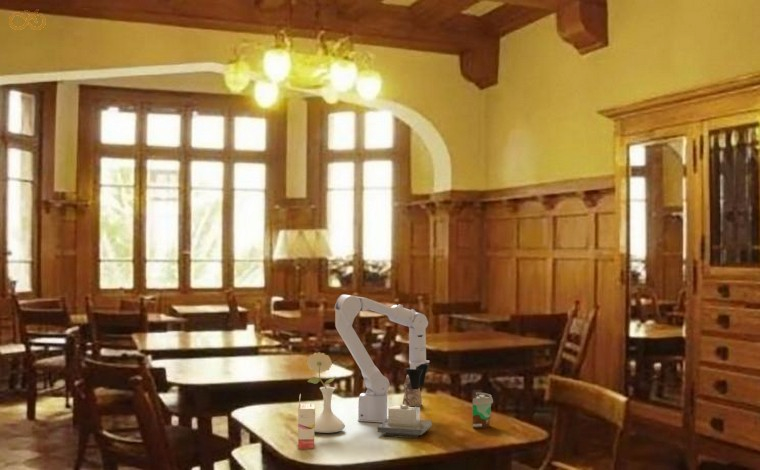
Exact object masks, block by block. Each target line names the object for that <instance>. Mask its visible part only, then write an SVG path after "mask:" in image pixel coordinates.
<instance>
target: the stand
mask: <svg viewBox="0 0 760 470" xmlns="http://www.w3.org/2000/svg"><path fill="white" fill-rule="evenodd" d="M432 423H433V422H432V420H427V419H426V420H425V419H423V420H422V419H420V424H419V425H418V426H402V425H388V420H386V421H385V422H384V423H380V425H378V426H377V432H378V433H385V434H384V435H385V436H386V437H395V436H397V438H408V439H409V438H411V439H417V438H418V437H420V436H422V435H423V434H425V433H426V431H428V429H430V427H432V425H433V424H432Z"/></svg>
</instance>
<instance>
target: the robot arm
mask: <svg viewBox="0 0 760 470" xmlns="http://www.w3.org/2000/svg"><path fill="white" fill-rule="evenodd" d="M367 310H368V311H373V312H375V313H379V314H381V315H385V316H387V317H388V320H389V322H393V323H395V324H399V325H402V326H405V327H408V330H409V331H408V343H409V344H408V347H409V348H408V349H409V350H408V352H409V353H408V354H409V355H408V357H409V358H408V363H409V367H406V368H405V370H406V373H407V375H409V378H410V382H411V386H412V389H417V390H418V389H419V388H420V387H421V386H425V381H426V375H427V373H428V369H429V367H430V364H429V363H430V360H427V338H426V337H427V334H426V331H427V330H426V329H427V327H428V325H429V321H428V318H427V316H426V315H425V314H424V313H421V312H417V311H416V310H415V309H414V308H411V309H408V308H405V307H404V305H403V304H399V303H398V305H397V304H394V305H392V306H388V305H386V304H383V303H380V302H378V301H376V300H373V299H370V298H367V297H362V296H356V295H350V294H341V295H339V297H338V298H337V299H336V303H335V305H334V311H335V317H334V318H335V321H334V324H335V325H334V326H335V329H336V330H337V332H338V334H339V336H340V337H341V339H342V340H343V342H344V344H345V346H346V347H347V350H348V351H349V353H350V354H351V356H352V358H353V359H354V361H355V363H356V364H357V366H358V368H359V370H360V371H361V376H362V377H363V380H364V381H363V382H364V383H363V384H364V386H365V388H366V390H365V392H361V393H360V394H359V397H358V407H357V408H358V413H357V414H358V418H357V421H358V422H365V423H366V422H368V423H380V424H382V423H384V422H385V421H386V420H388V391H389V389H390V384H391V383H390V381H389V379H388V377H386V376H385V375H383V374H382V373H381V371H380V369H379V368H378V367H377V366H376V365H375V363H374V361H373V359H372V358H371V356H370V354H369V353H368V350H367V349H366V347H365V346H364V344H363V342H362V341H361V340H360V337H359V336H358V334H357V332H356V331H355V329H354V327H353V323H354V320H355V318H356V317H357V316H358V314H359V313H360V312H365V311H367Z"/></svg>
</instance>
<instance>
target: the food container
mask: <svg viewBox="0 0 760 470" xmlns="http://www.w3.org/2000/svg"><path fill="white" fill-rule="evenodd" d="M493 403H494V399H493V397H492V395H491V394H490V393H486V392H477V391H476V392H475V396H474V398H472V429H473V428H484V429H487V427H488V428H490V425H491V424H490V422H491V411H492V410H491V409H492V408H491V407H492V404H493Z"/></svg>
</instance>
